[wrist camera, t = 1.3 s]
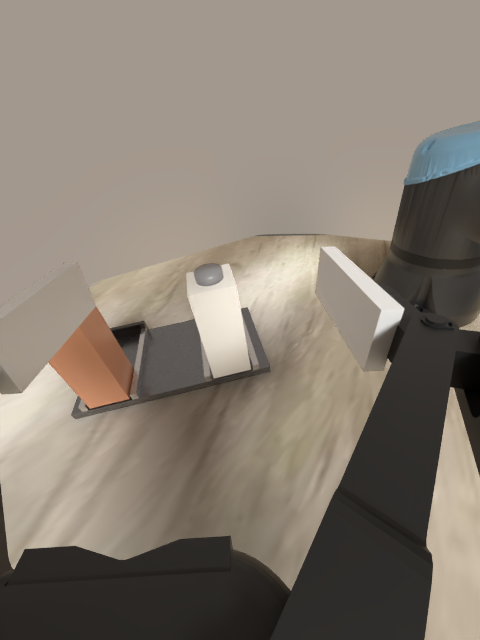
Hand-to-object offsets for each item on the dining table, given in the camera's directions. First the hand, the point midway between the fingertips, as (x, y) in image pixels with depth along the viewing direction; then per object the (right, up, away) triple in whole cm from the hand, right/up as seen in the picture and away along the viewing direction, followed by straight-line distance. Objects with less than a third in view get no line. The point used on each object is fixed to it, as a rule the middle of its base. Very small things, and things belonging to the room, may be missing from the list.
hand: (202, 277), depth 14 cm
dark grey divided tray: (-8, -8, +25) cm, 28 cm away
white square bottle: (+1, -8, +21) cm, 23 cm away
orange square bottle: (-15, -12, +20) cm, 28 cm away
